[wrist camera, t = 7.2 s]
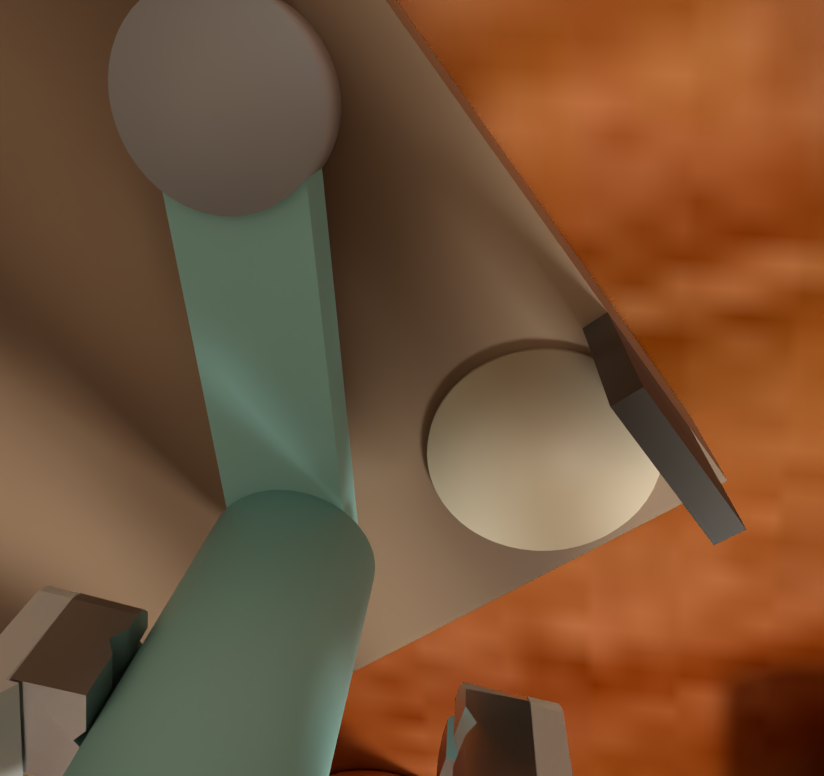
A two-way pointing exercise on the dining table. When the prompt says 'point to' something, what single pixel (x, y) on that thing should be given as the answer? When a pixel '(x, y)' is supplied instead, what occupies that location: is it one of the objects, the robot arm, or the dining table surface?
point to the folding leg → (246, 399)
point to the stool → (358, 334)
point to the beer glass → (364, 773)
